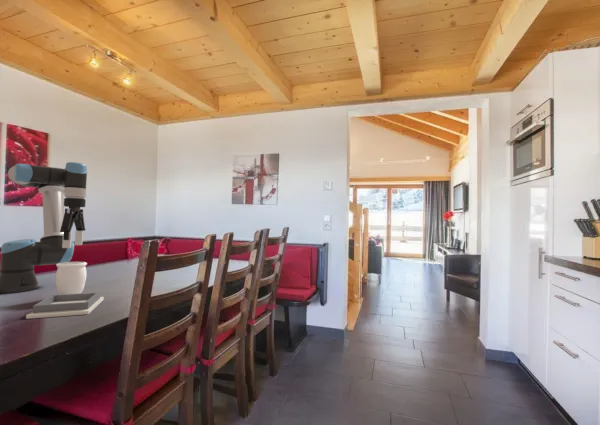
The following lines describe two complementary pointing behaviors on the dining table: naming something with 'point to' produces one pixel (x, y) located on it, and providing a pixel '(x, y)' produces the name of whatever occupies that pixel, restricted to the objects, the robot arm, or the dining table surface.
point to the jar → (71, 277)
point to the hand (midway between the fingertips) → (72, 246)
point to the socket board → (66, 305)
